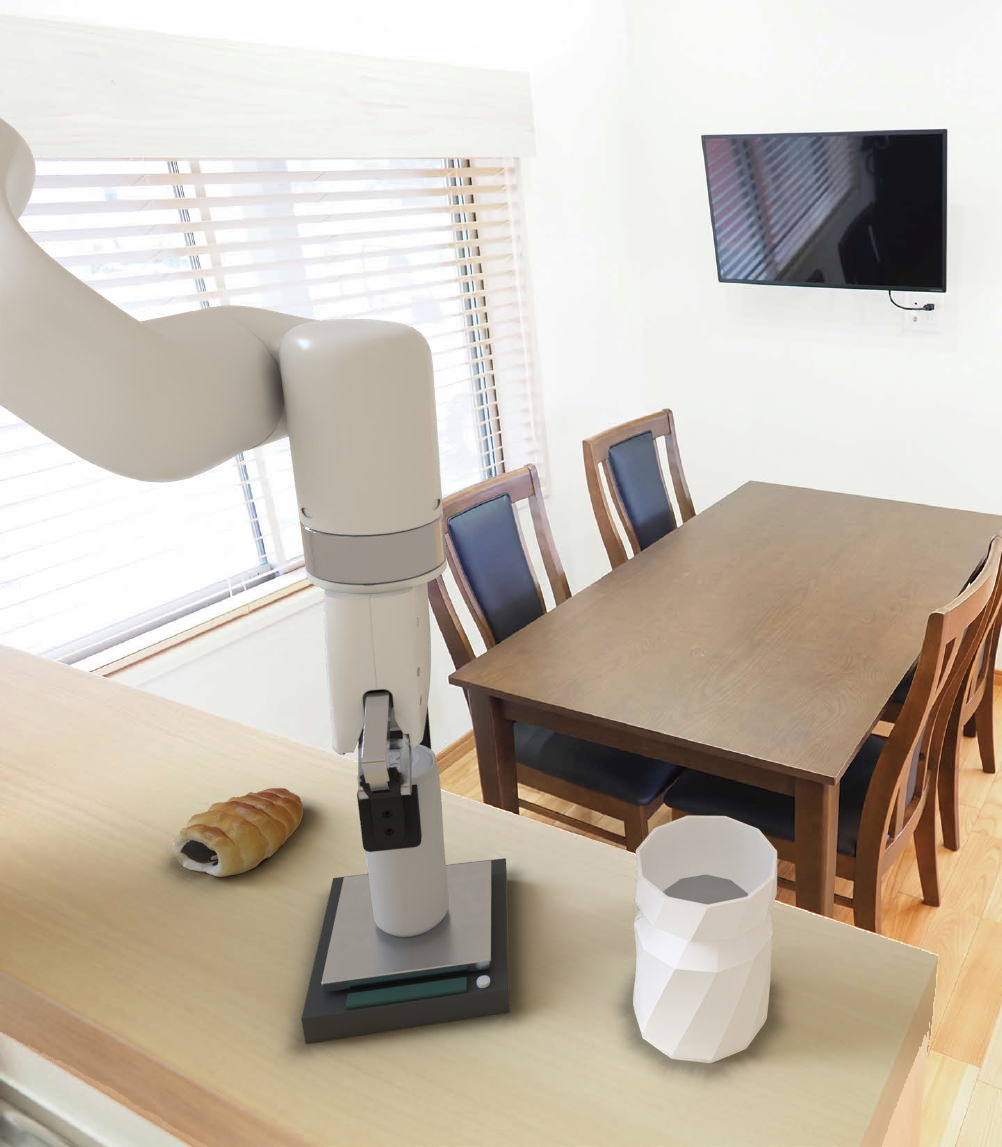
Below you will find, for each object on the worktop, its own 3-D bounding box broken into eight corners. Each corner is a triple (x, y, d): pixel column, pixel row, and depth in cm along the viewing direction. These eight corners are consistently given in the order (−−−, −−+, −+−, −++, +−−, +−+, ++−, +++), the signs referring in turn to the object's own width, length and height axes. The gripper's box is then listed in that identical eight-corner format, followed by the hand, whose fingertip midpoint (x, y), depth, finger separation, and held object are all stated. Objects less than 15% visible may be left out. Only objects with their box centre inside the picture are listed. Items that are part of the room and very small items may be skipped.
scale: (305, 1046, 59) (300, 1015, 58) (336, 902, 70) (332, 874, 69) (509, 1014, 62) (508, 984, 61) (507, 881, 73) (505, 854, 72)
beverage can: (358, 932, 63) (338, 776, 59) (401, 885, 68) (385, 736, 63) (425, 948, 62) (410, 790, 58) (464, 899, 67) (452, 749, 62)
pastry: (262, 799, 81) (256, 760, 80) (328, 819, 79) (323, 779, 78) (164, 867, 73) (156, 824, 71) (236, 890, 71) (228, 847, 70)
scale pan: (322, 993, 59) (320, 983, 59) (344, 886, 68) (343, 876, 68) (491, 969, 62) (491, 959, 62) (491, 868, 71) (491, 859, 71)
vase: (723, 1089, 58) (731, 929, 53) (605, 1026, 61) (604, 872, 57) (791, 993, 65) (804, 844, 60) (682, 942, 69) (686, 799, 64)
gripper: (327, 500, 62) (354, 733, 68) (272, 610, 46) (313, 897, 53) (451, 498, 64) (465, 724, 70) (437, 602, 48) (458, 881, 55)
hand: (400, 798), depth 61 cm, fingers open, 9 cm apart
